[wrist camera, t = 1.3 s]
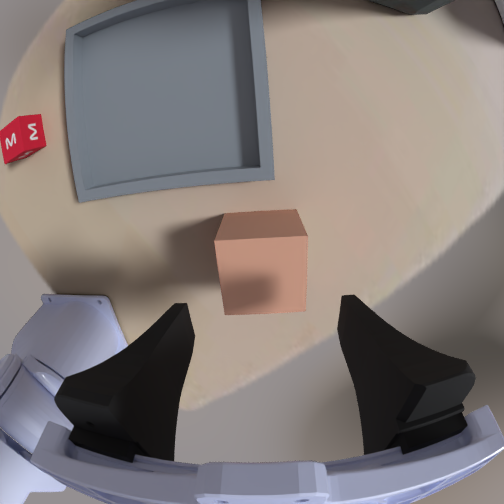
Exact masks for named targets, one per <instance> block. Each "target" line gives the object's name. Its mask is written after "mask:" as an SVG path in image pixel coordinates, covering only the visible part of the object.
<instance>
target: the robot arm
mask: <svg viewBox="0 0 504 504" xmlns="http://www.w3.org/2000/svg"><path fill="white" fill-rule="evenodd" d="M41 299H42V302H43V305H42V306H41V308H40V309H39V310H38V311H37V312H36V313H35V314H34V315H33V316H32V317H31V319H30V320H29V321H28V322H27V323H26V324H25V326H24V327H23V328H22V329H21V330H20V332H19V333H18V334H17V335H16V337H15V339H14V341H13V345H12V351H11V354H7V355H5V356H4V357H3V358H2V359H1V360H0V427H1V428H2V429H3V430H4V431H5V432H6V433H7V434H9V435H10V436H11V437H12V438H13V439H15V440H16V441H17V442H18V443H19V444H21V445H22V446H23V447H24V448H26V449H27V450H28V451H30V452H31V453H32V454H31V453H30V452H28V451H27V450H26V449H24V448H23V447H22V446H20V445H19V444H18V443H17V442H16V441H14V440H13V439H12V438H11V437H10V436H8V435H7V434H6V433H5V432H4V431H2V429H0V504H23V503H24V502H25V500H26V498H27V496H28V495H29V493H30V492H60V491H64V490H65V488H66V486H68V487H70V488H72V489H74V490H76V491H79V492H81V493H83V494H85V495H87V496H90V497H92V498H95V499H97V500H99V501H102V502H105V503H107V504H410V503H412V502H415V501H417V500H420V499H422V498H424V497H427V496H429V495H431V494H433V493H435V492H438V491H440V490H442V489H444V488H446V487H448V486H450V485H452V484H454V483H456V482H458V481H460V480H462V479H463V478H465V477H467V476H469V475H471V474H472V473H474V472H476V471H477V470H479V469H480V468H482V467H483V466H484V465H485V464H487V463H488V462H489V461H490V460H492V459H493V458H494V457H495V456H496V455H498V454H499V453H500V452H501V451H502V450H503V449H504V437H503V435H502V433H501V430H500V428H499V426H498V424H497V422H496V420H495V418H494V416H493V414H492V412H491V410H490V408H489V406H488V405H485V406H483V407H481V408H479V409H477V410H475V411H473V412H471V413H469V414H468V415H467V416H465V417H464V416H463V414H462V412H463V411H464V406H463V404H462V402H463V400H464V399H465V397H466V396H467V395H468V393H469V392H470V390H471V389H472V387H473V385H474V382H475V374H474V373H473V371H472V369H471V368H470V366H469V365H468V363H467V362H466V361H465V360H461V359H458V358H454V357H450V356H447V355H445V354H442V353H439V352H437V351H434V350H432V349H430V348H427V347H425V346H423V345H421V344H419V343H417V342H416V341H414V340H412V339H410V338H409V337H407V336H405V335H404V334H402V333H401V332H399V331H398V330H396V329H395V328H393V327H392V326H391V325H389V324H388V323H387V322H385V321H384V320H383V319H382V318H380V317H379V316H378V315H377V314H376V313H375V312H373V311H372V310H371V309H370V308H369V307H368V306H367V305H365V304H364V303H363V302H362V301H361V300H360V299H359V298H358V297H356V296H355V295H344V296H342V298H341V306H340V314H339V321H338V328H337V330H338V335H339V340H340V345H341V348H342V351H343V354H344V357H345V360H346V363H347V366H348V368H349V372H350V374H351V377H352V380H353V383H354V387H355V390H356V395H357V401H358V406H359V412H360V419H361V426H362V435H363V445H364V455H362V456H358V457H353V458H348V459H342V460H336V461H329V462H316V461H312V460H309V461H286V462H262V463H261V462H260V463H242V462H241V463H240V462H209V463H206V464H202V465H199V464H189V463H181V462H174V449H175V434H176V424H177V416H178V409H179V402H180V396H181V392H182V388H183V384H184V381H185V378H186V374H187V371H188V367H189V364H190V360H191V357H192V353H193V347H194V339H195V334H194V330H193V326H192V322H191V318H190V314H189V310H188V306H187V303H175V304H174V305H173V306H171V307H170V308H169V309H168V310H167V311H166V312H165V313H164V314H163V315H162V316H161V317H160V318H159V319H158V320H157V321H156V322H155V323H154V324H153V325H152V326H151V327H150V328H149V329H148V330H147V331H146V332H144V333H143V334H142V335H141V336H140V337H139V338H138V339H136V340H135V341H134V342H133V343H131V344H130V345H129V346H128V344H127V342H126V340H125V338H124V335H123V333H122V331H121V328H120V326H119V323H118V321H117V318H116V316H115V313H114V311H113V308H112V305H111V303H110V300H109V298H108V297H106V296H91V295H57V294H43V295H42V296H41ZM99 300H100V301H101V302H100V301H99Z"/></svg>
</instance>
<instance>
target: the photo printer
mask: <svg viewBox="0 0 504 504" xmlns="http://www.w3.org/2000/svg"><path fill="white" fill-rule="evenodd" d="M495 2H496V5H497V7H498V10H499V12H500V15H501V18H502V21H503V23H504V0H495Z"/></svg>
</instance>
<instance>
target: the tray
mask: <svg viewBox="0 0 504 504" xmlns="http://www.w3.org/2000/svg"><path fill="white" fill-rule="evenodd" d="M64 76H65V106H66V120H67V131H68V140H69V148H70V155H71V162H72V168H73V174H74V180H75V185H76V191H77V196H78V200H79V203H80V202H85V201H90V200H96V199H102V198H108V197H114V196H120V195H127V194H133V193H140V192H148V191H155V190H163V189H171V188H180V187H189V186H199V185H209V184H220V183H233V182H246V181H262V180H275V178H274V160H273V143H272V127H271V113H270V99H269V86H268V73H267V61H266V50H265V39H264V29H263V18H262V9H261V0H136V1H133V2H130V3H127V4H125V5H122V6H119V7H116V8H114V9H111V10H109V11H106V12H104V13H101V14H99V15H96V16H94V17H92V18H90V19H87V20H85V21H83V22H81V23H79V24H77V25H75V26H73V27H71V28H69V29H67V30H66V40H65V69H64Z"/></svg>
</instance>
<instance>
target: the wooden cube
mask: <svg viewBox="0 0 504 504" xmlns="http://www.w3.org/2000/svg"><path fill="white" fill-rule="evenodd" d="M214 243H215V251H216V258H217V265H218V272H219V279H220V286H221V293H222V299H223V306H224V312H225V315H244V314H268V313H287V312H302V311H306V289H307V252H308V235H307V233H306V231H305V228H304V226H303V224H302V221H301V219H300V217H299V214H298V212H297V210H296V209H293V210H272V211H254V212H238V213H225V214H224V216H223V219H222V222H221V224H220V227H219V229H218V232H217V235H216V237H215V240H214Z"/></svg>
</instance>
